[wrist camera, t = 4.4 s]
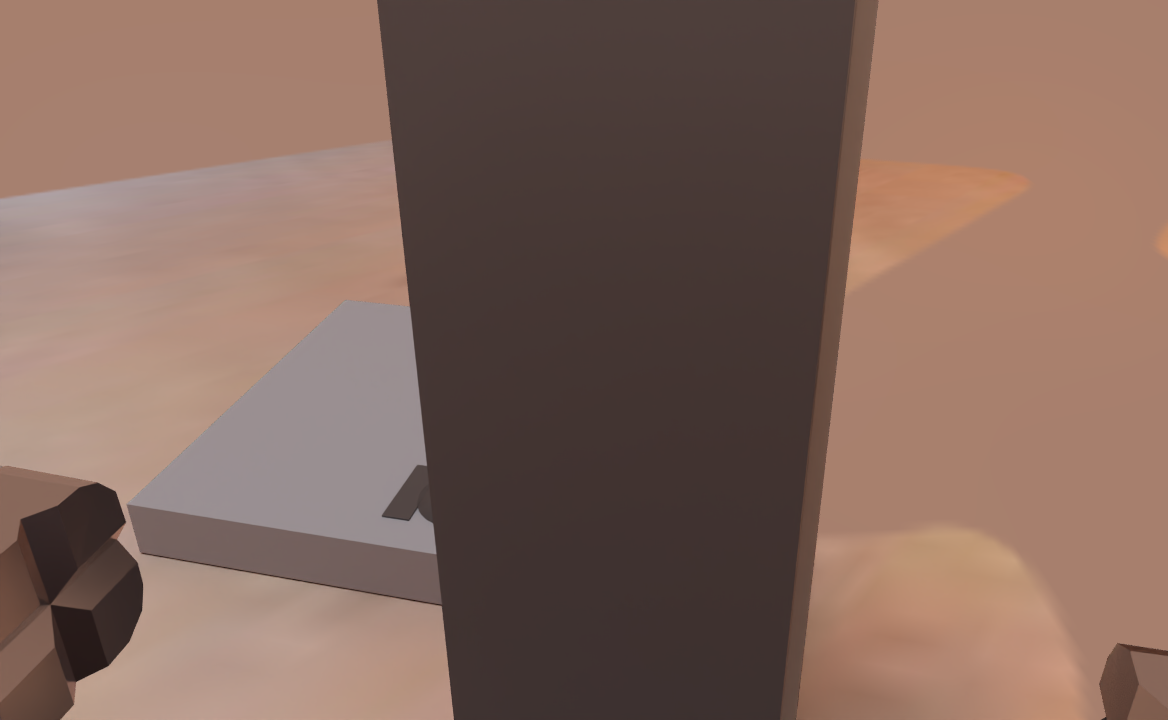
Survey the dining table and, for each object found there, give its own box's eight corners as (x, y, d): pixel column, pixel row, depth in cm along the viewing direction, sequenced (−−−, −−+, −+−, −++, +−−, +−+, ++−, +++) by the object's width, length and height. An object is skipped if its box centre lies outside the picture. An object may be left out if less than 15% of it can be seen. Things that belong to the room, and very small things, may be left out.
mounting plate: (140, 552, 26) (126, 502, 26) (350, 338, 37) (345, 298, 36) (779, 663, 23) (784, 608, 22) (815, 391, 33) (820, 347, 32)
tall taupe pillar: (478, 941, 17) (302, -706, 8) (560, 714, 22) (512, -532, 12) (765, 1014, 16) (978, -801, 7) (792, 759, 20) (946, -574, 11)
